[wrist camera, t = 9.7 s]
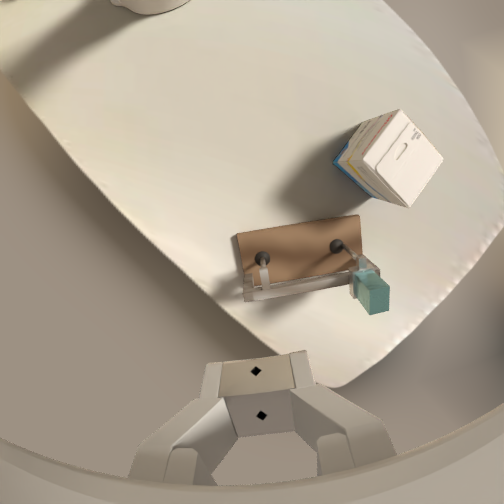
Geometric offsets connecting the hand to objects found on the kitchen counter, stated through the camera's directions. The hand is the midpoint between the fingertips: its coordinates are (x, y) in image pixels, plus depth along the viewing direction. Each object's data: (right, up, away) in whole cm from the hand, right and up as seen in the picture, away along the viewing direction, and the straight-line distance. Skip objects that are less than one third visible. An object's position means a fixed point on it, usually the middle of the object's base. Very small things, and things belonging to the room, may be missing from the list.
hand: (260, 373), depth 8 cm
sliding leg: (+13, +3, +33) cm, 36 cm away
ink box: (+17, +17, +31) cm, 39 cm away
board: (+7, +4, +34) cm, 35 cm away
